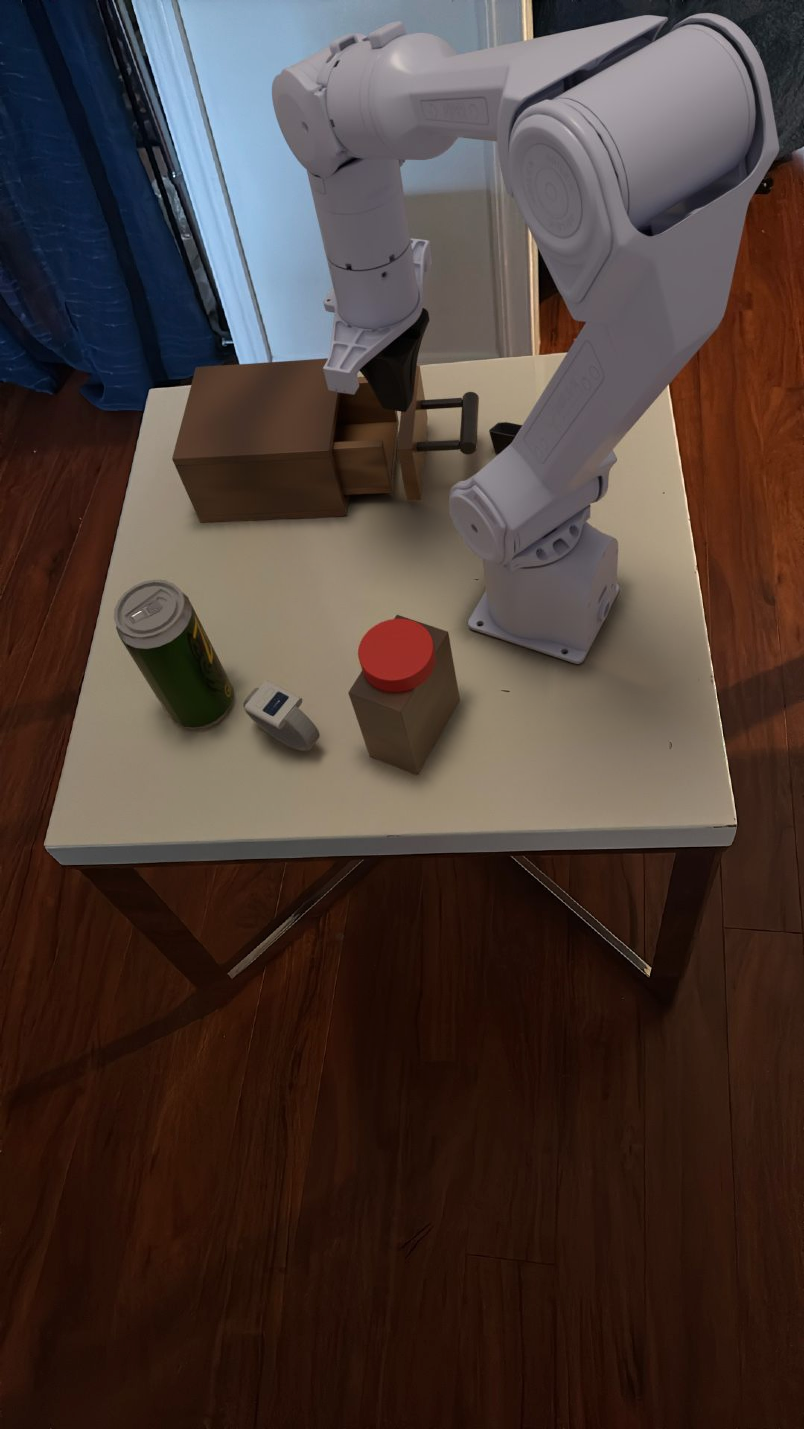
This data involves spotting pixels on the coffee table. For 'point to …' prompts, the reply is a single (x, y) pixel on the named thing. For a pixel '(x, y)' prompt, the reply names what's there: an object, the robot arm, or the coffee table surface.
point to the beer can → (174, 653)
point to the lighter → (503, 435)
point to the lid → (397, 655)
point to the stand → (408, 710)
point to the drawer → (393, 439)
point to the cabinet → (260, 443)
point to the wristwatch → (281, 716)
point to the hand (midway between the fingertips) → (397, 404)
